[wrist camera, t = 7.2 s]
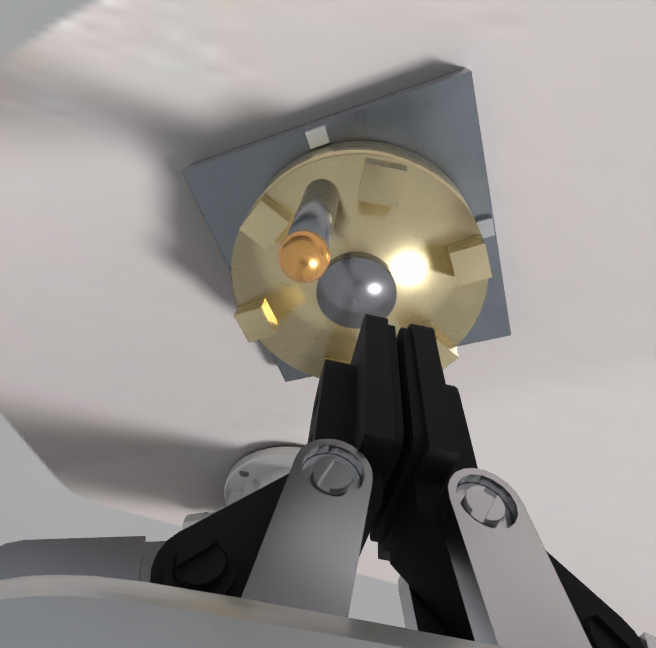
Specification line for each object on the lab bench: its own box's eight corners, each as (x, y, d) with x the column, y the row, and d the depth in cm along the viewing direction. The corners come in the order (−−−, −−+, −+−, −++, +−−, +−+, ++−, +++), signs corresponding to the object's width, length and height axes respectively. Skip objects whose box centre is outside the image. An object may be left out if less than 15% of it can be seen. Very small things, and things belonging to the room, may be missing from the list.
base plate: (288, 368, 33) (284, 385, 32) (191, 164, 26) (179, 174, 24) (505, 321, 29) (512, 338, 28) (465, 67, 22) (472, 71, 20)
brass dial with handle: (496, 324, 28) (550, 462, 19) (297, 372, 31) (267, 507, 22) (448, 99, 21) (497, 154, 13) (203, 191, 25) (112, 283, 16)
